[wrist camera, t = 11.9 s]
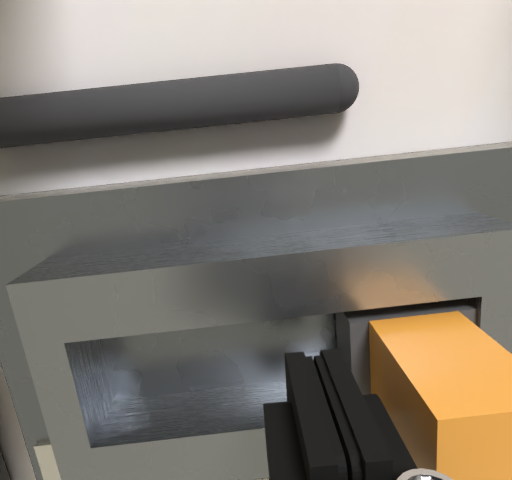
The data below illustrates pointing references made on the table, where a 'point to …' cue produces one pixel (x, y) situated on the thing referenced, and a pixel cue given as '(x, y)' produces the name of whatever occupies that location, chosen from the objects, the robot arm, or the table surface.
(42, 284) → the panel
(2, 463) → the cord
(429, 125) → the table surface
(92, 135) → the rod
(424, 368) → the breaker lever
